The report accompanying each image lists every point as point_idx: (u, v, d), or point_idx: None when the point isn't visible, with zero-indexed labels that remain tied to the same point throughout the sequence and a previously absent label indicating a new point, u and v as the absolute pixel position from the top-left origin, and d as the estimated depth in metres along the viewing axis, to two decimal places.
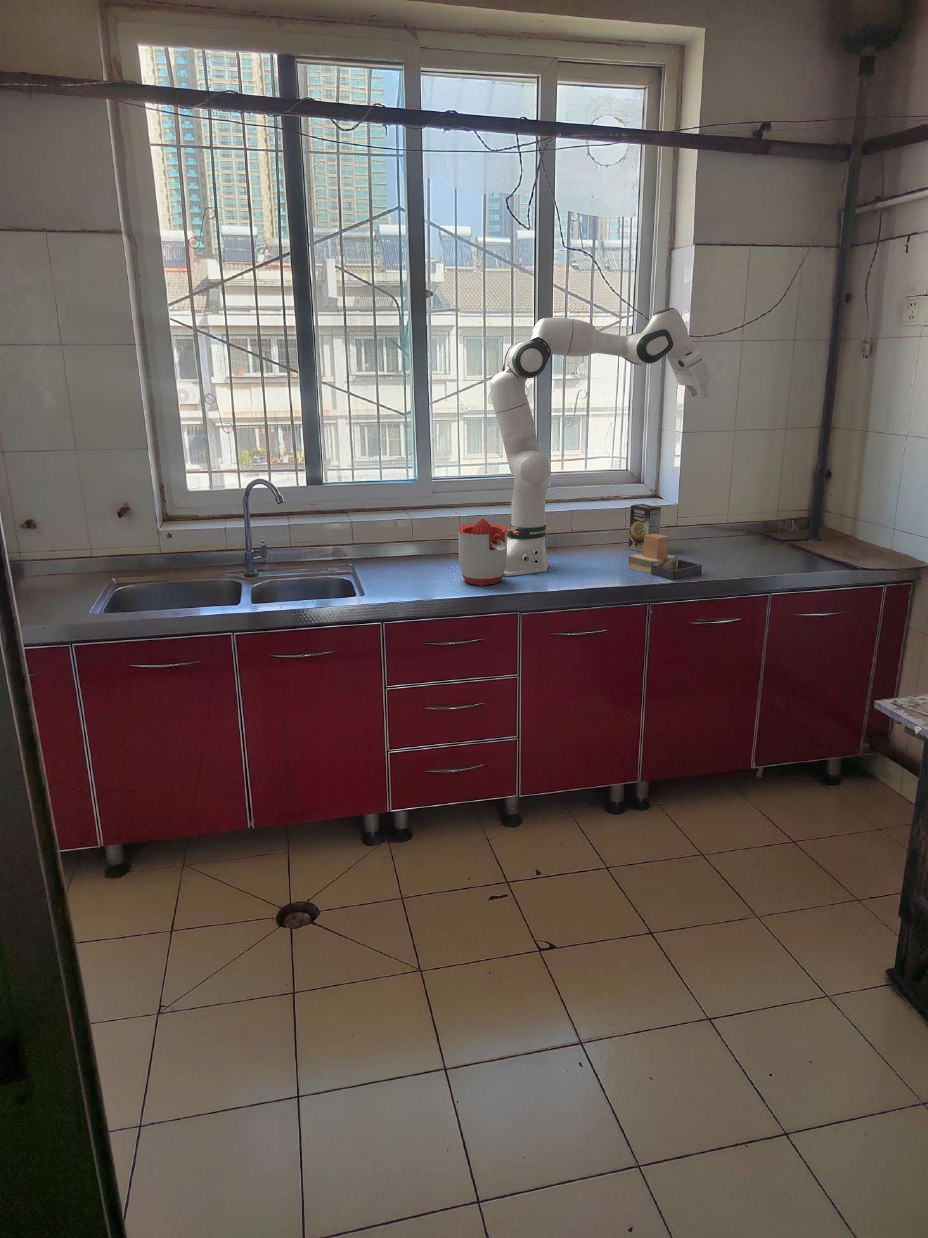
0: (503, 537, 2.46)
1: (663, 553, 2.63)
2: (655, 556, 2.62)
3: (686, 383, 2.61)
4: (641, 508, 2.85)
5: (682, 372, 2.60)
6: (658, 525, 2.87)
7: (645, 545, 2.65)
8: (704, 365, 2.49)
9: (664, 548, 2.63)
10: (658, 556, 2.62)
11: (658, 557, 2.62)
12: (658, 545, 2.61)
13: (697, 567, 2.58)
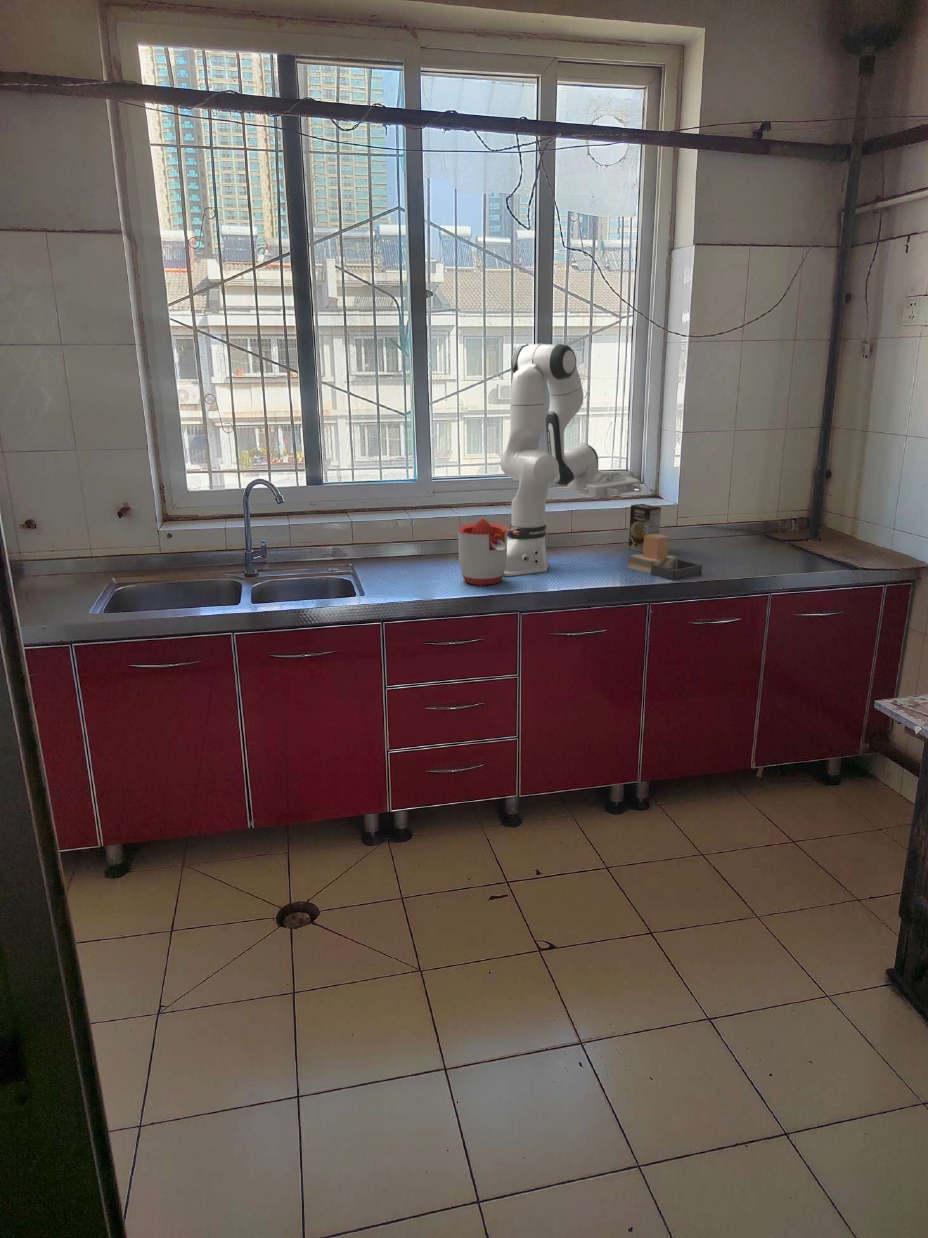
0: (503, 537, 2.46)
1: (663, 553, 2.63)
2: (655, 556, 2.62)
3: (614, 483, 2.72)
4: (641, 508, 2.85)
5: (607, 483, 2.75)
6: (658, 525, 2.87)
7: (645, 545, 2.65)
8: None
9: (664, 548, 2.63)
10: (658, 556, 2.62)
11: (658, 557, 2.62)
12: (658, 545, 2.61)
13: (697, 567, 2.58)
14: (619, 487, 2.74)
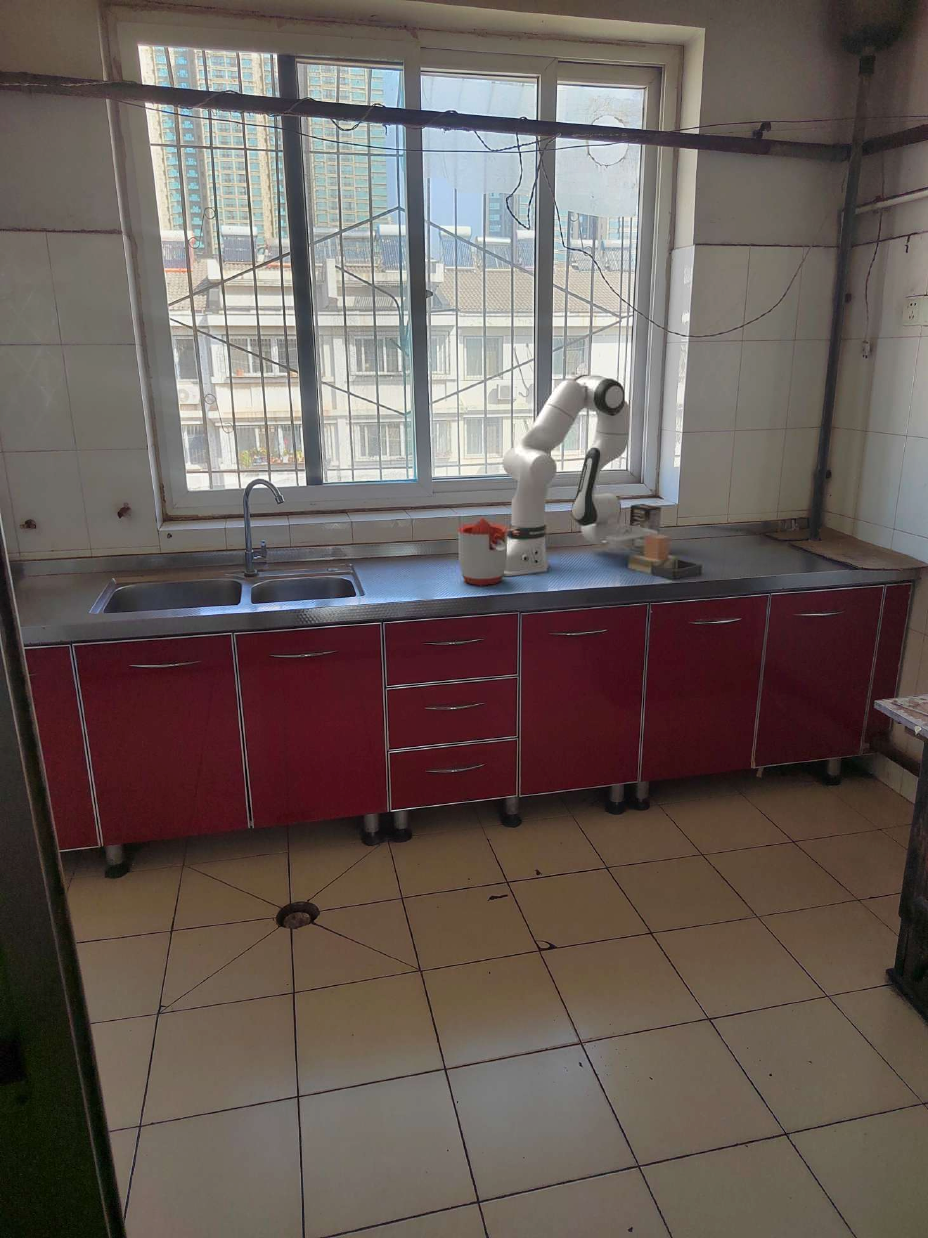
0: (503, 537, 2.46)
1: (664, 553, 2.63)
2: (656, 556, 2.62)
3: (634, 535, 2.69)
4: (641, 508, 2.85)
5: (626, 535, 2.72)
6: (658, 525, 2.87)
7: (646, 545, 2.64)
8: None
9: (665, 548, 2.62)
10: (659, 556, 2.62)
11: (659, 557, 2.62)
12: (659, 545, 2.60)
13: (697, 567, 2.58)
14: None
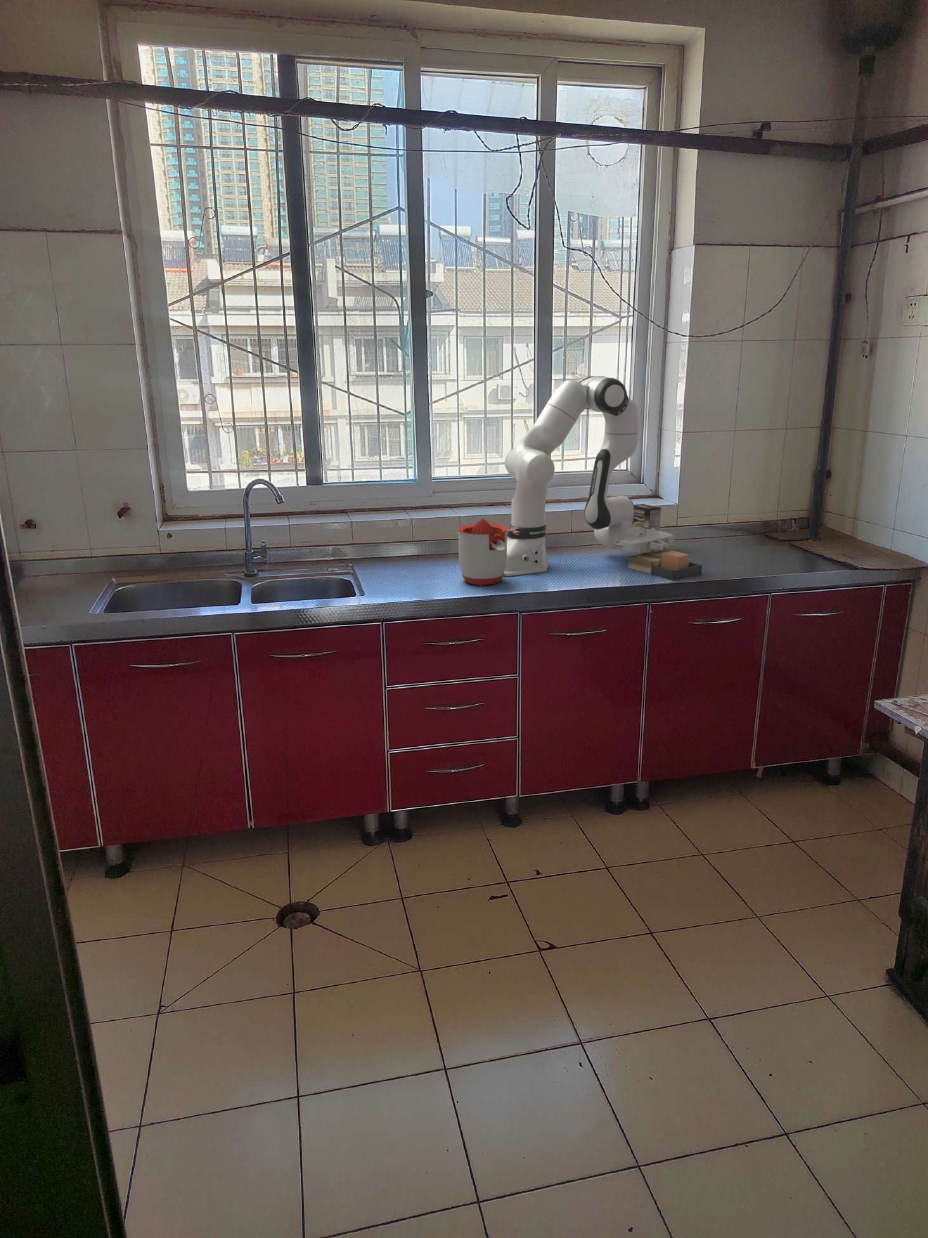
0: (503, 537, 2.46)
1: None
2: None
3: (648, 539, 2.64)
4: (641, 508, 2.85)
5: (640, 538, 2.67)
6: (658, 525, 2.87)
7: (670, 557, 2.57)
8: None
9: None
10: None
11: None
12: None
13: (697, 567, 2.58)
14: (653, 542, 2.66)
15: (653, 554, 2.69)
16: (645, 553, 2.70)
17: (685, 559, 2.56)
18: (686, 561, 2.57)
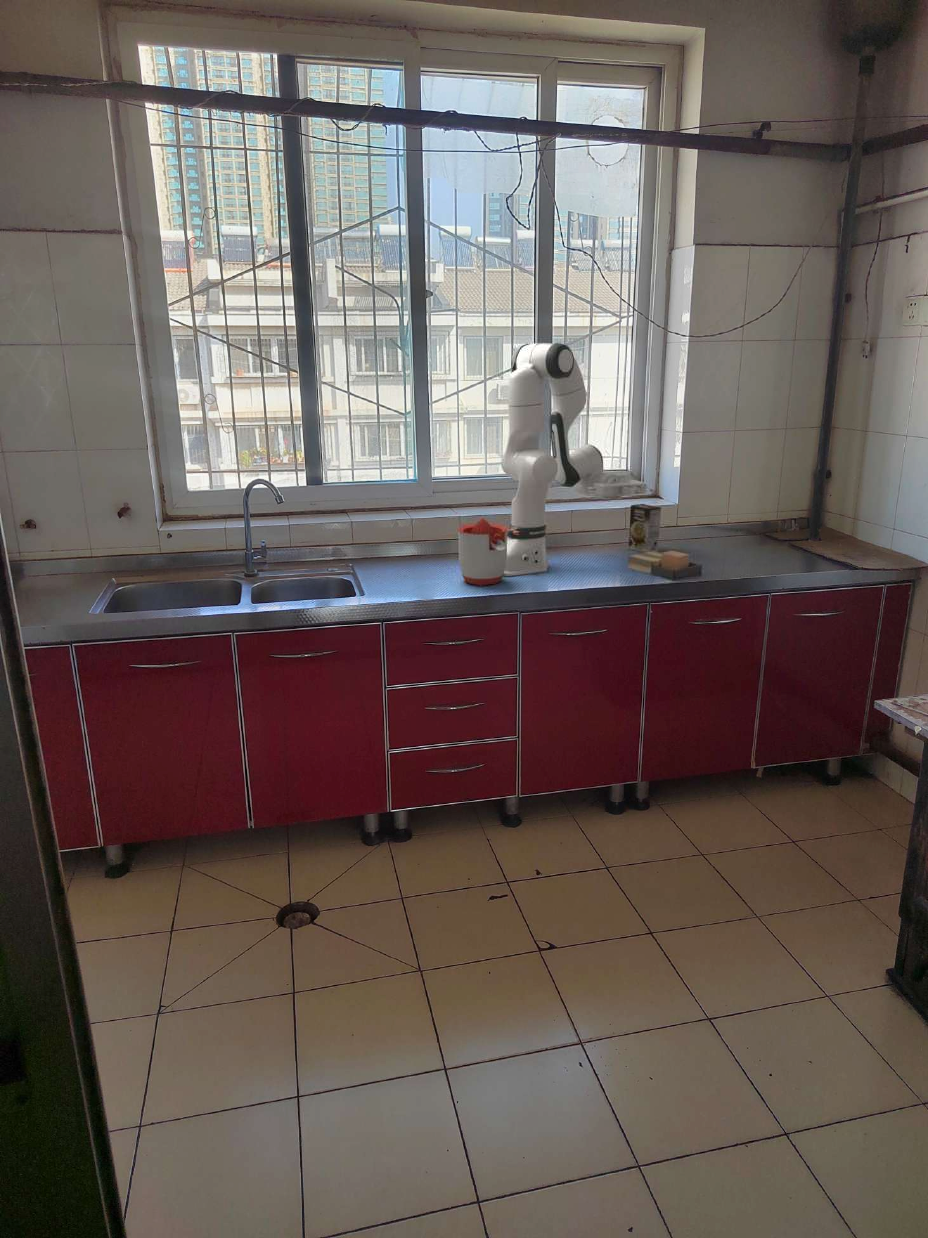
0: (503, 537, 2.46)
1: None
2: None
3: (621, 484, 2.69)
4: (641, 508, 2.85)
5: None
6: (658, 525, 2.87)
7: (670, 557, 2.57)
8: None
9: None
10: None
11: None
12: None
13: (697, 567, 2.58)
14: None
15: (653, 554, 2.69)
16: (645, 553, 2.70)
17: (685, 559, 2.56)
18: (686, 561, 2.57)
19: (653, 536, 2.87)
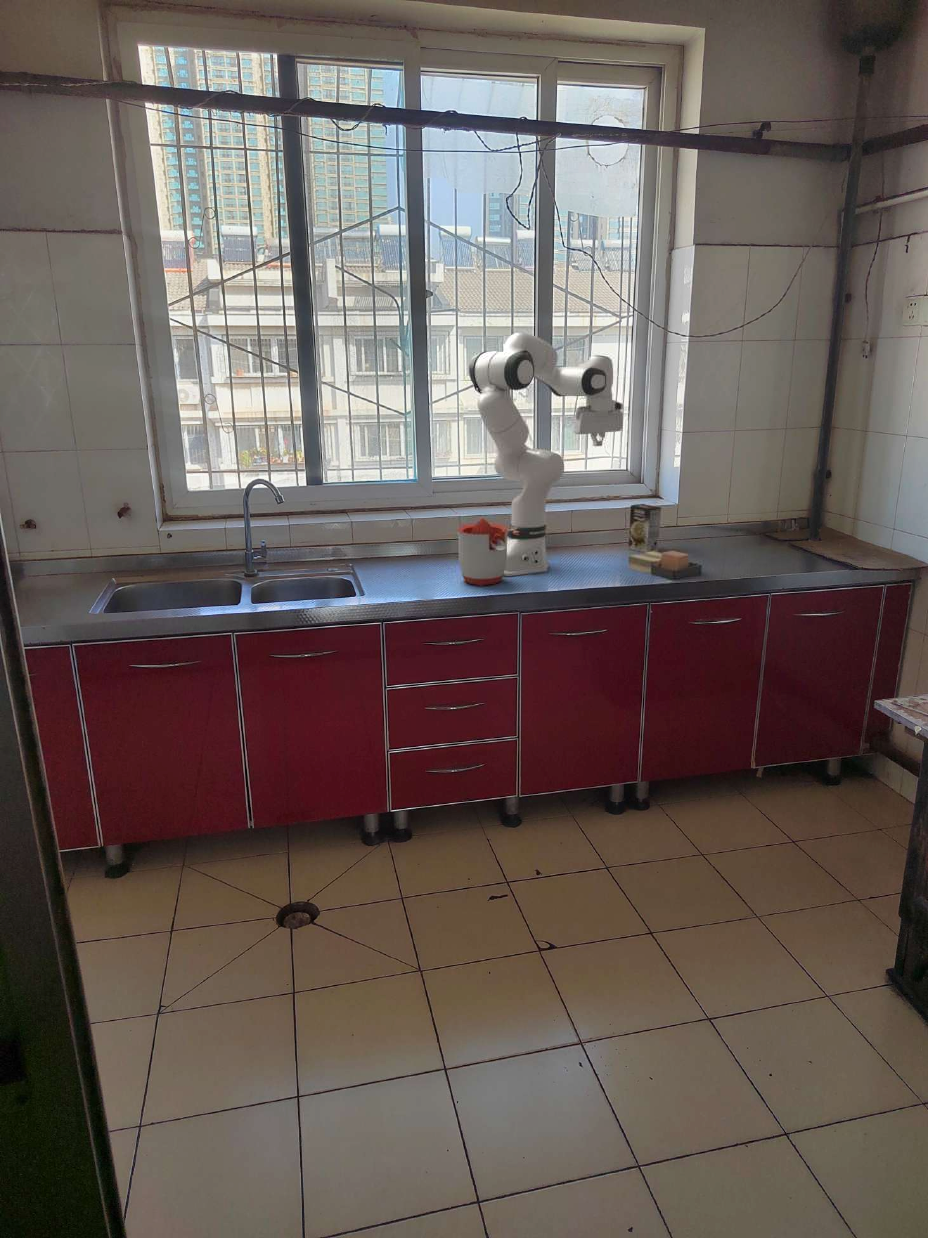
0: (503, 537, 2.46)
1: None
2: None
3: (598, 430, 2.78)
4: (641, 508, 2.85)
5: (598, 419, 2.77)
6: (658, 525, 2.87)
7: (670, 557, 2.57)
8: None
9: None
10: None
11: None
12: None
13: (697, 567, 2.58)
14: None
15: (653, 554, 2.69)
16: (645, 553, 2.70)
17: (685, 559, 2.56)
18: (686, 561, 2.57)
19: (653, 536, 2.87)
